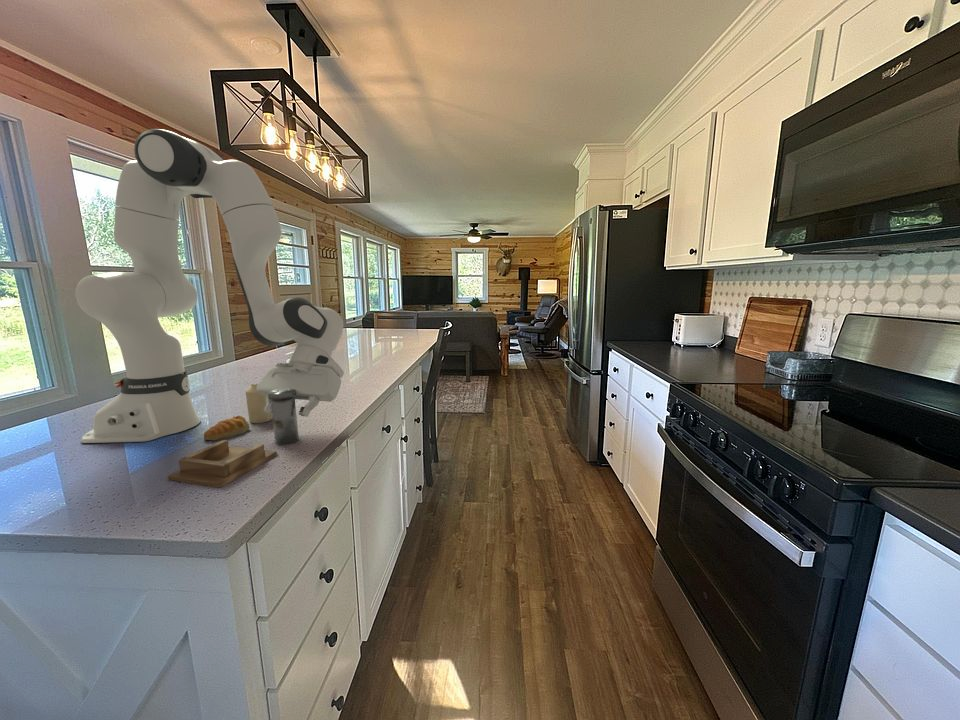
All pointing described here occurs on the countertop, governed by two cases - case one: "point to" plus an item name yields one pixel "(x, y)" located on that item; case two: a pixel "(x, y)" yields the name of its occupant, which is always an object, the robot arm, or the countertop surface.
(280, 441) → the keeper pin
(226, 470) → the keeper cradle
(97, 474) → the countertop surface
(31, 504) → the countertop surface
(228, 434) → the pastry
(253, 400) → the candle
